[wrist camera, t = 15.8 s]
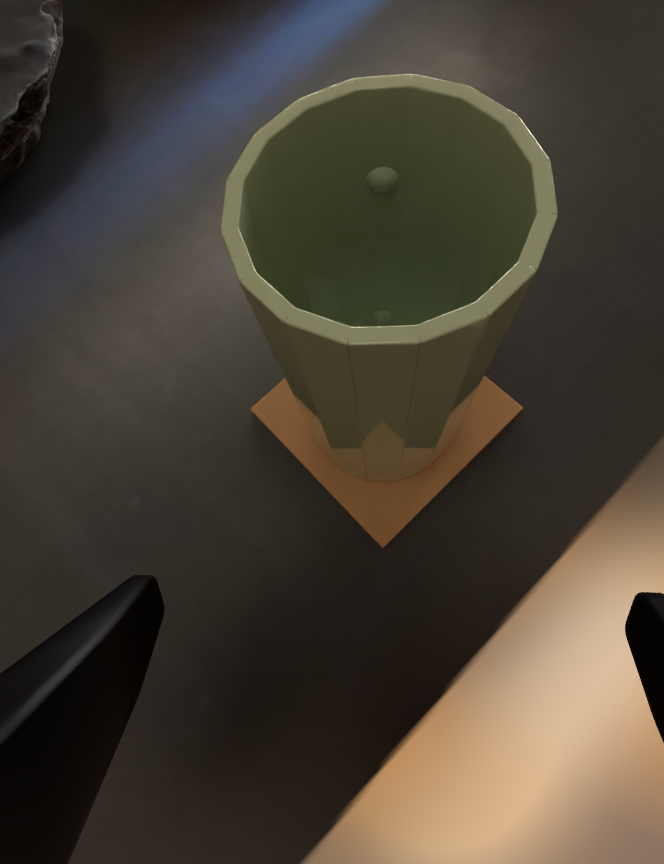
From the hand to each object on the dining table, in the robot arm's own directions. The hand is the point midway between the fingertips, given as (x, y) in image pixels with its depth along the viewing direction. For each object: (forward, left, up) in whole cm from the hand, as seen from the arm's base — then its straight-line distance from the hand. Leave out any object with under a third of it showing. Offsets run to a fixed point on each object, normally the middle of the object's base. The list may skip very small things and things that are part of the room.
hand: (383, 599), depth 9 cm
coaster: (+6, -6, -12) cm, 14 cm away
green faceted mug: (+7, -7, -11) cm, 15 cm away
